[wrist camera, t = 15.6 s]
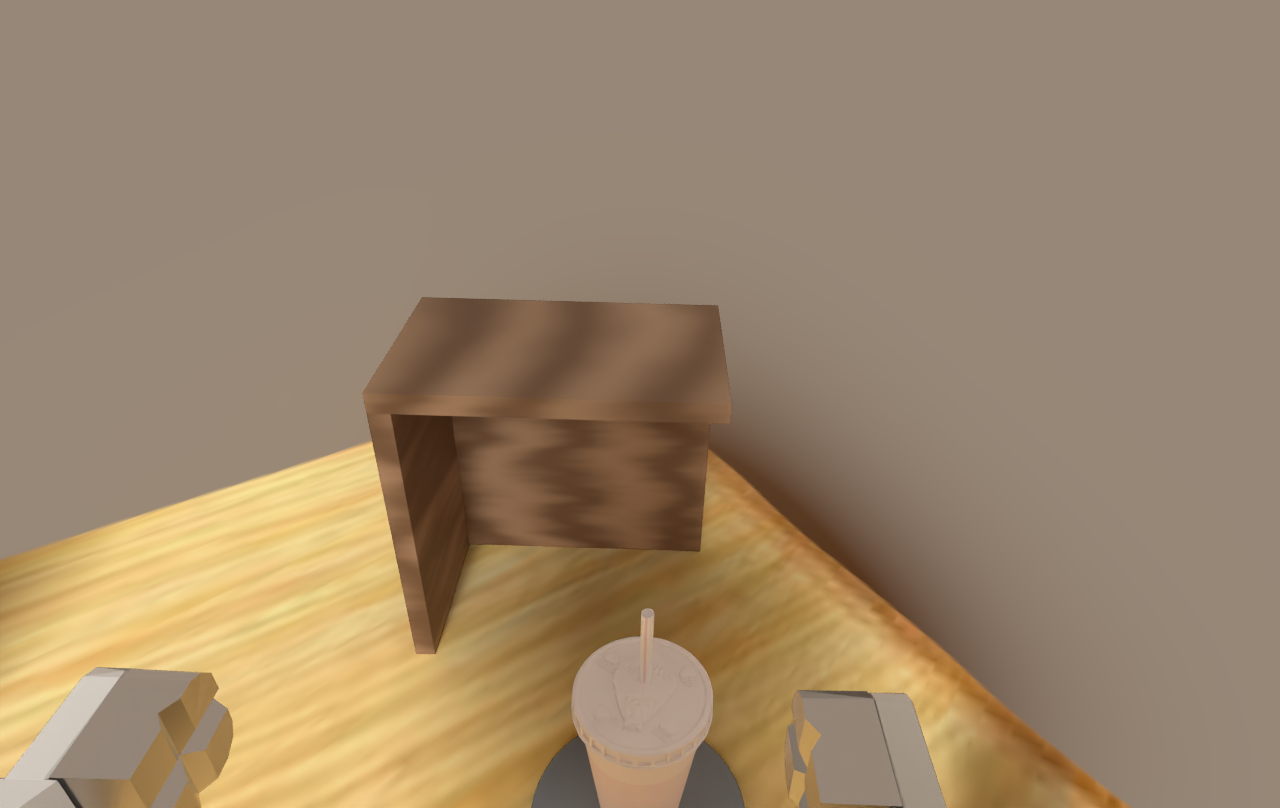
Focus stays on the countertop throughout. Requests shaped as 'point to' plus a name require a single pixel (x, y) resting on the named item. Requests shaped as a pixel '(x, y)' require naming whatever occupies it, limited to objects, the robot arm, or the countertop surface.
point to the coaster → (572, 798)
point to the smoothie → (641, 718)
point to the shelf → (541, 432)
